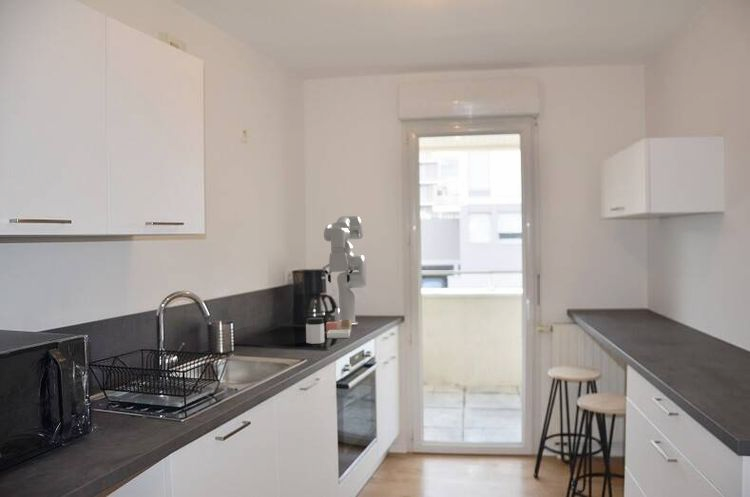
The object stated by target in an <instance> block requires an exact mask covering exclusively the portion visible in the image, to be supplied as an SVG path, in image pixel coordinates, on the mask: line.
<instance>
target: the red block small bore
mask: <svg viewBox="0 0 750 497" xmlns="http://www.w3.org/2000/svg"><path fill="white" fill-rule="evenodd" d="M325 330H326V335H327V332H328V331H329V330H338V322H335V321H327V322H326V325H325Z"/></svg>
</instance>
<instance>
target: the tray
mask: <svg viewBox="0 0 750 497" xmlns="http://www.w3.org/2000/svg"><path fill="white" fill-rule="evenodd" d="M350 336H351V332H350V330H329V331H328V332H327V334H326V339H349V338H350Z"/></svg>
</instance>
